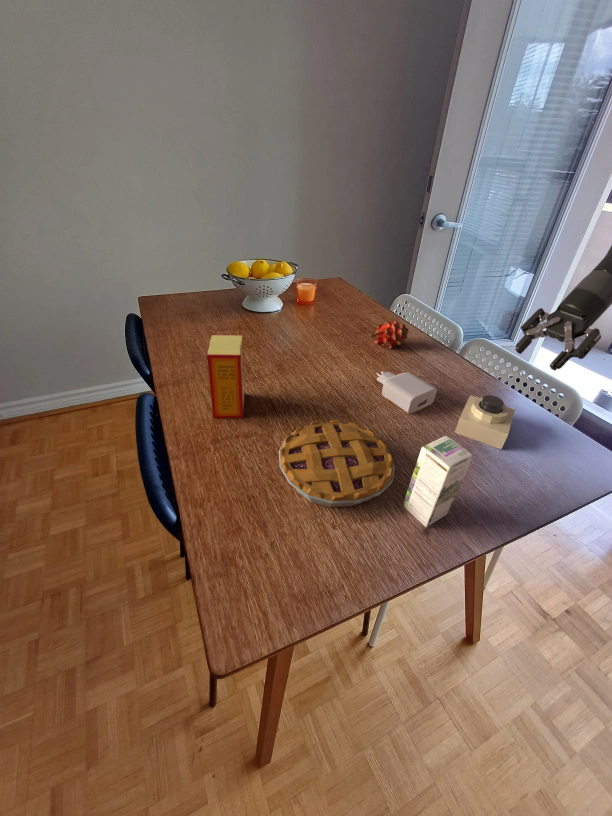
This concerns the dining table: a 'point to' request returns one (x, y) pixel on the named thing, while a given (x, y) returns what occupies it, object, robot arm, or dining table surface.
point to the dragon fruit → (390, 334)
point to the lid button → (491, 404)
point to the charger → (406, 391)
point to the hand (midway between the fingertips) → (534, 359)
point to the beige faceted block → (485, 423)
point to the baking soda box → (226, 375)
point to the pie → (336, 463)
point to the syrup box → (436, 480)
